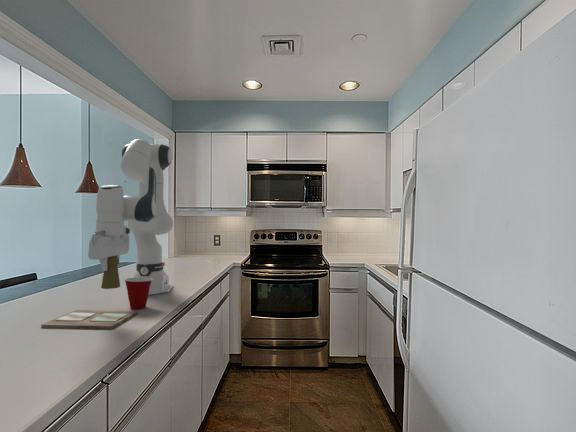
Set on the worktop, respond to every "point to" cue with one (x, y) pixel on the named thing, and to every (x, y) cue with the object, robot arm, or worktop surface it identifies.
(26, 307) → the worktop surface
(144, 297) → the plastic cup
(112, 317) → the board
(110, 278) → the cork
